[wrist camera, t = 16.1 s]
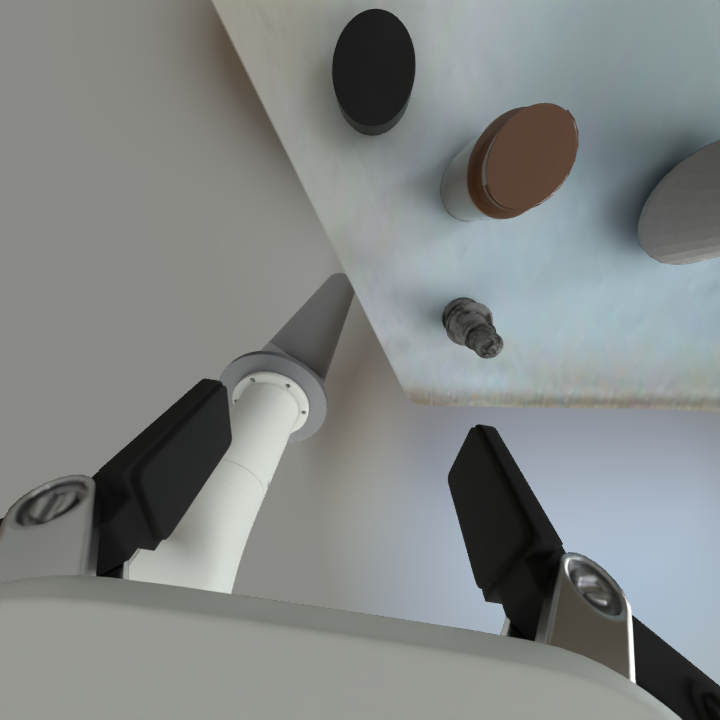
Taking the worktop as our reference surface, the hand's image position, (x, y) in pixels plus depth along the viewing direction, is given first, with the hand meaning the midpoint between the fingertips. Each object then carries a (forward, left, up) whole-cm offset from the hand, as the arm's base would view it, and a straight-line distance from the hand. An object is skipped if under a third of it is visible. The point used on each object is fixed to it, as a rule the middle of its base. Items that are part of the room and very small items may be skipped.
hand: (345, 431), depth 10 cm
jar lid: (+15, +12, -26) cm, 32 cm away
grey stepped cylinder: (+5, -13, -28) cm, 32 cm away
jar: (+16, -2, -28) cm, 33 cm away
